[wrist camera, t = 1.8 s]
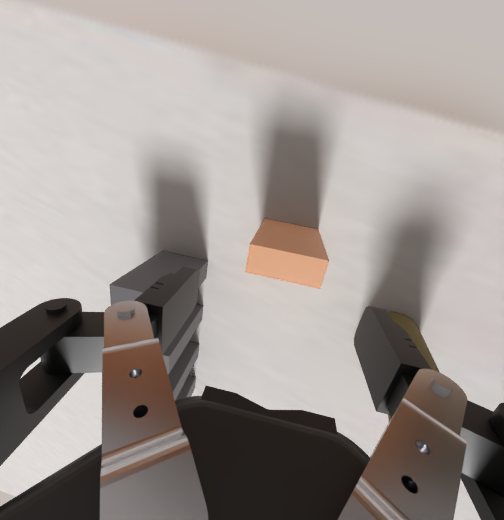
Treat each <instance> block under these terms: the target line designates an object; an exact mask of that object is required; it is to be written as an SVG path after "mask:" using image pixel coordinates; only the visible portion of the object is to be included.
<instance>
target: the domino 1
mask: <svg viewBox="0 0 504 520" xmlns="http://www.w3.org/2000/svg"><path fill="white" fill-rule="evenodd" d="M207 265H208V261H206V260H202V259H198V258H193V257H189V256H184V255H180V254H175V253H171V252H166V251H161V252H160V253H158V254H157V255H155V256H153V257H152V258H150V259H149V260H147V261H146V262H144V263H143V264H141V265H139V266H138V267H136V268H135V269H133V270H132V271H130V272H128V273H127V274H125V275H124V276H122V277H121V278H119V279H117V280H116V281H114V282H113V283H111V284H110V296H111V305H113V304H115V303H118V302H122V301H134V300H135V299H136V298H138V297H139V296H140V295H141V294H142V293H143V292H144V291H146V290H147V289H148V288H150V286H151V285H153V284H154V283H155V282H156V281H157V280H158V279H160V278H161V277H162V276H165V275H167V274H170V273H173V274H175V273H176V272H177V271H179V270H180V269H181V268H182V267H183V266H187V267H192V268H196V269H199V271H200V277H199V286H200V285H201V284H202V282H203V281H204V280H205V279H206V274H207Z"/></svg>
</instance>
